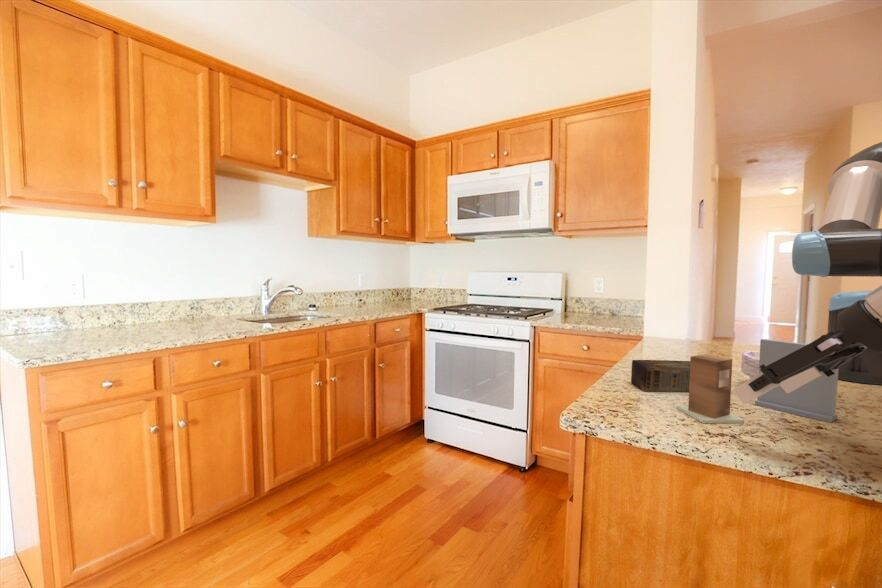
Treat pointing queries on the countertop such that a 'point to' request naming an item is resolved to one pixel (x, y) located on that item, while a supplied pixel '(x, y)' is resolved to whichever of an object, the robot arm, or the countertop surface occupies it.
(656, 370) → the beverage carton
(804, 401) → the slate panel
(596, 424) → the countertop surface
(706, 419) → the sage tile
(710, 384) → the brown tall rectangular block
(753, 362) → the paper bowls
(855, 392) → the countertop surface
